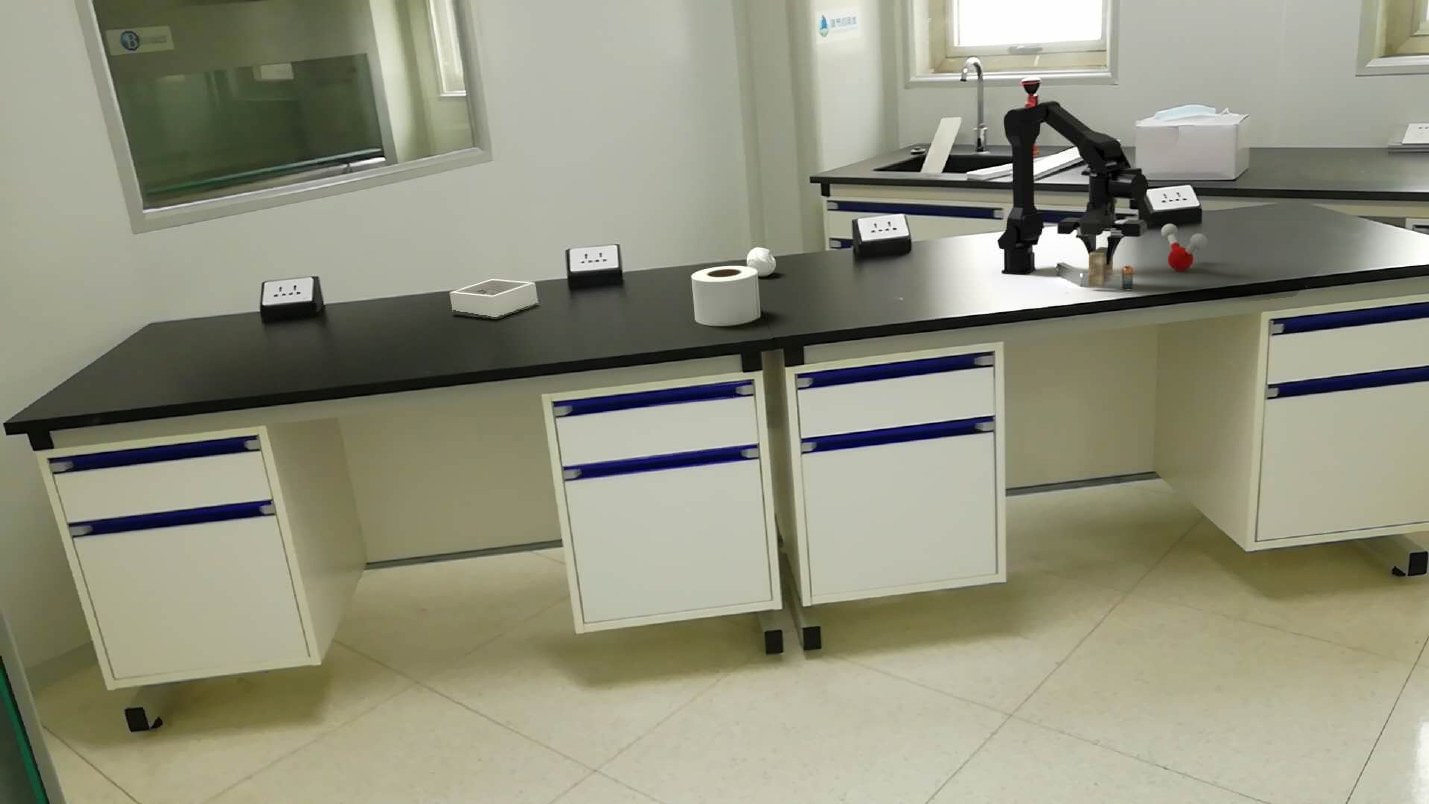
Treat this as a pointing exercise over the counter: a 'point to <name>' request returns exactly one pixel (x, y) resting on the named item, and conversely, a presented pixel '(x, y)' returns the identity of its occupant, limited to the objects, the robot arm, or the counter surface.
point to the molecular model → (1182, 248)
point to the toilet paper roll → (726, 295)
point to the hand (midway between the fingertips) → (1100, 264)
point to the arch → (1099, 266)
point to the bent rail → (1109, 280)
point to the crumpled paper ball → (761, 261)
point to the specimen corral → (494, 297)
